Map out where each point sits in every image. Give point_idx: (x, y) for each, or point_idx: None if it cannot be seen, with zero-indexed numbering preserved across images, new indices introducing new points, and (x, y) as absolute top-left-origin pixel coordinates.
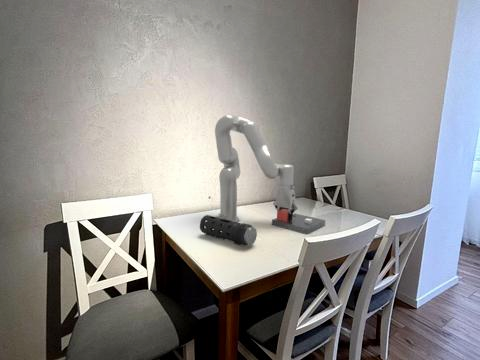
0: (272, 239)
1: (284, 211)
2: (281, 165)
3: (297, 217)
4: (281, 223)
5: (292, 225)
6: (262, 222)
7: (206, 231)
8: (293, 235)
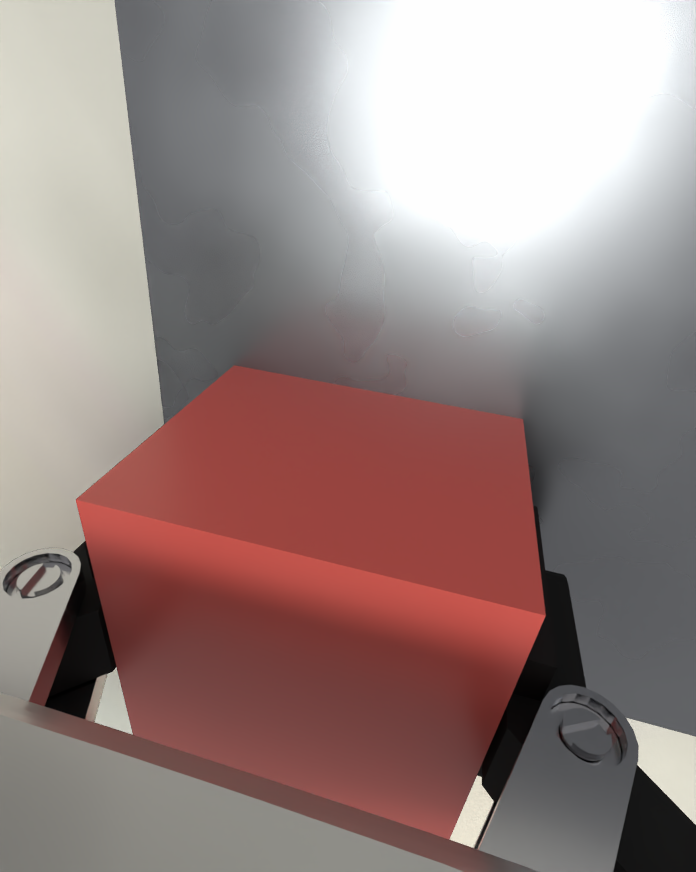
0: None
1: (311, 747)
2: None
3: (621, 79)
4: None
5: (636, 709)
6: (71, 497)
7: None
8: (685, 771)
